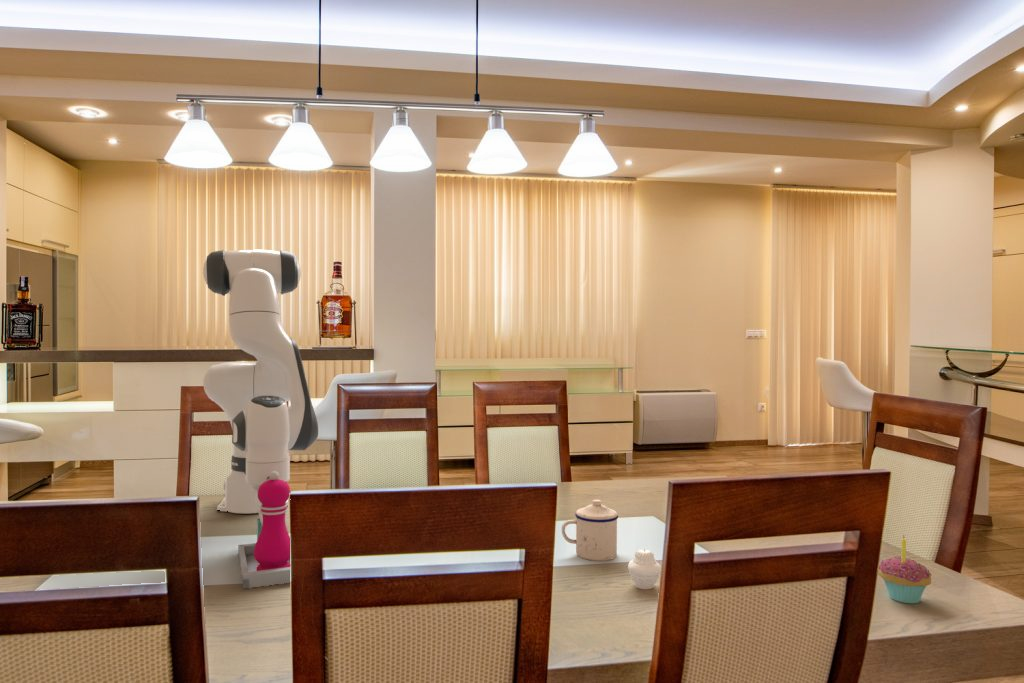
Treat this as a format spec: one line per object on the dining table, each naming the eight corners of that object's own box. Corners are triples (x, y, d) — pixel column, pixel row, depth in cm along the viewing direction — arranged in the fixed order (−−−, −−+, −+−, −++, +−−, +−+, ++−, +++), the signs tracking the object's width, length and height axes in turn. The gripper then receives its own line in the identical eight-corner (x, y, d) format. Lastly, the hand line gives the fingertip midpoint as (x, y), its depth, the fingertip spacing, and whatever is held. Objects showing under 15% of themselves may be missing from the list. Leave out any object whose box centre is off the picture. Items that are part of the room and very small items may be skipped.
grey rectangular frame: (238, 553, 144) (238, 520, 144) (294, 547, 149) (294, 515, 149) (243, 589, 124) (243, 550, 124) (308, 580, 129) (308, 543, 129)
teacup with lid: (615, 548, 150) (615, 495, 150) (620, 562, 141) (620, 506, 141) (560, 547, 150) (561, 494, 150) (562, 560, 141) (562, 505, 141)
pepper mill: (280, 582, 127) (281, 476, 127) (245, 579, 129) (246, 474, 129) (300, 569, 135) (300, 468, 134) (266, 566, 136) (267, 467, 136)
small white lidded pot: (620, 585, 128) (621, 547, 128) (642, 578, 132) (643, 542, 132) (645, 595, 123) (646, 556, 123) (667, 587, 127) (668, 550, 127)
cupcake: (930, 611, 117) (931, 542, 117) (874, 601, 121) (875, 534, 121) (931, 595, 124) (932, 530, 124) (878, 586, 129) (879, 523, 129)
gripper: (288, 481, 137) (288, 550, 137) (278, 463, 155) (278, 524, 155) (255, 484, 134) (254, 554, 134) (249, 465, 153) (249, 526, 153)
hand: (267, 537), depth 145 cm, fingers closed on grey rectangular frame, 3 cm apart
